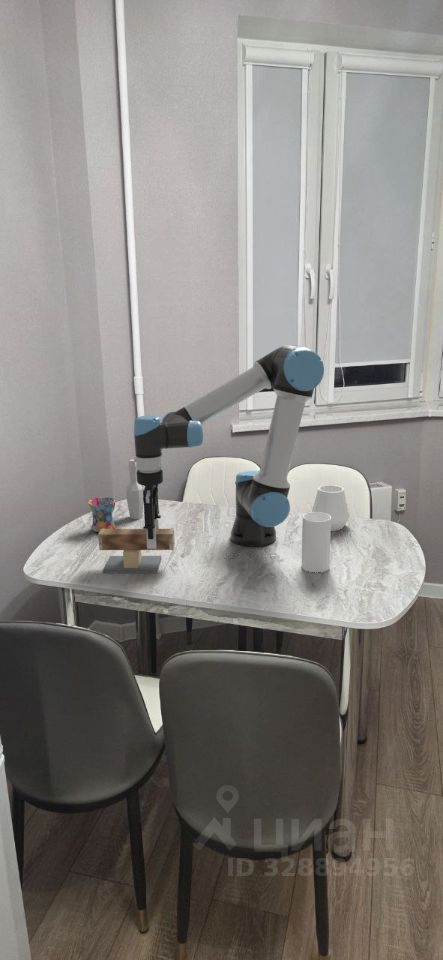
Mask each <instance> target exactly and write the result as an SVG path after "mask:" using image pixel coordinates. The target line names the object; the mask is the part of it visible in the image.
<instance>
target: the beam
mask: <svg viewBox="0 0 443 960" xmlns="http://www.w3.org/2000/svg"><path fill="white" fill-rule="evenodd" d="M97 539H98V550H99V551H124V550H141V551H174V548H175V528H174V527H173V528H159V529H156V546H157V548H156V549H147V538H146V529H143V528H115V529H101V530H100V532H98V535H97Z"/></svg>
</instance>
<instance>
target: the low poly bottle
mask: <svg viewBox="0 0 443 960" xmlns="http://www.w3.org/2000/svg"><path fill="white" fill-rule="evenodd" d="M134 459H135V458H134ZM134 459H133V458H132V459H129V463H128V469H129V480H130V481H129V483H128V485H127V486H126V487H125V489H126V490H125V491H126V502H127V503H126V504H127V507H128V513H129V519H130V520H140V519H142V518H143V515H144V514H143V513H144V502H143V490H144V487H143V485H140V484H138V483H137V471H138V469H137V468H136V463H137V462H135V461H134Z"/></svg>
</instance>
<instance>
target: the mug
mask: <svg viewBox="0 0 443 960" xmlns="http://www.w3.org/2000/svg"><path fill="white" fill-rule="evenodd" d="M87 504H88V506H89V509H90V510H91V513H92V525H91V527H90V529H91V530H92V531H93V532H95V533H99V532H100V530H101V529H116V524H115V522H114V518H113V517H114V516H113V512H114V510H115V506H116V499H115V498H113V497H111V496H110V497H109V496H100V497H99V496H98V497H94V498H92V499H89V500H88V501H87Z"/></svg>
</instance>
